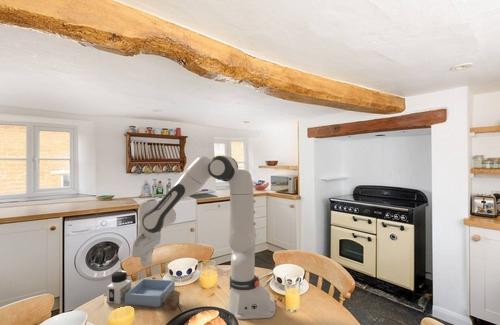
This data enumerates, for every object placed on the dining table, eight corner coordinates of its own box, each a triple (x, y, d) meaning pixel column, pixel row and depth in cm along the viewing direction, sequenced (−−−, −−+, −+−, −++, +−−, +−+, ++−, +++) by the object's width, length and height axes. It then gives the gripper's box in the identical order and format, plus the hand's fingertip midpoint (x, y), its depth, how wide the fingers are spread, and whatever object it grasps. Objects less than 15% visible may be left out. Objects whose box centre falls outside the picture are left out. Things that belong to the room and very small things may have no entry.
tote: (174, 289, 127) (174, 280, 128) (160, 307, 112) (160, 296, 112) (143, 287, 129) (143, 278, 130) (124, 304, 114) (124, 293, 114)
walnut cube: (179, 304, 115) (179, 293, 115) (174, 310, 110) (175, 299, 110) (169, 303, 115) (169, 293, 115) (164, 309, 110) (164, 298, 110)
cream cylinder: (153, 262, 124) (154, 249, 124) (148, 266, 119) (148, 252, 119) (144, 261, 124) (144, 248, 124) (138, 266, 119) (139, 251, 120)
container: (120, 304, 114) (120, 276, 114) (106, 302, 116) (106, 275, 116) (131, 295, 122) (131, 269, 122) (118, 293, 123) (118, 268, 123)
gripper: (141, 238, 111) (140, 268, 111) (163, 226, 131) (162, 252, 131) (129, 237, 112) (128, 267, 112) (152, 226, 132) (151, 251, 132)
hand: (146, 259), depth 122 cm, fingers closed on cream cylinder, 5 cm apart
